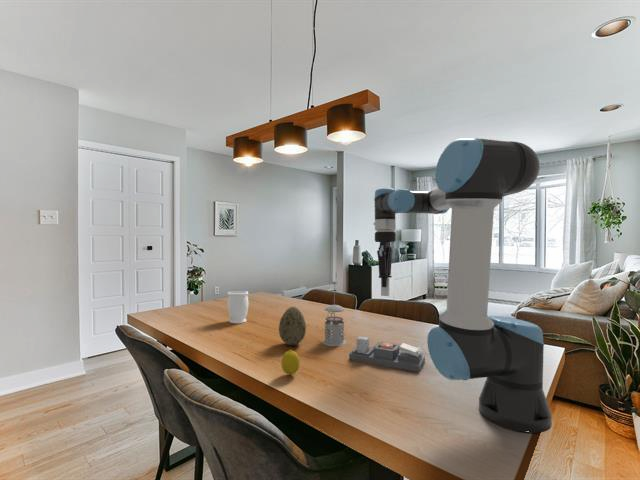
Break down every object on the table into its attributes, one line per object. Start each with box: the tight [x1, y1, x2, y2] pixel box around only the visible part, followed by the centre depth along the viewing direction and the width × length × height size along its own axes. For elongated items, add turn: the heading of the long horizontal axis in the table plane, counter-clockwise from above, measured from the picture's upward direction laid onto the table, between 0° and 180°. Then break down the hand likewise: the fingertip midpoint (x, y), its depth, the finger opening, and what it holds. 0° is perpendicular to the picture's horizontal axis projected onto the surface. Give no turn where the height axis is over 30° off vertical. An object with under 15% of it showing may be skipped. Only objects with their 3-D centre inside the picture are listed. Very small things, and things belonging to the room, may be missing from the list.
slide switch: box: [355, 335, 370, 354], centre depth 116 cm, size 3×4×5 cm
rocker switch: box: [399, 342, 422, 357], centre depth 111 cm, size 4×6×2 cm
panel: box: [348, 341, 426, 373], centre depth 114 cm, size 10×24×5 cm, turn 63°
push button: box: [380, 342, 394, 350], centre depth 114 cm, size 4×4×3 cm
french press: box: [322, 280, 347, 347], centre depth 135 cm, size 10×12×25 cm
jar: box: [226, 290, 249, 324], centre depth 166 cm, size 11×10×15 cm
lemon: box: [281, 349, 300, 377], centre depth 102 cm, size 6×6×8 cm
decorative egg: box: [278, 306, 307, 346], centre depth 131 cm, size 11×11×15 cm
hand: (385, 295), depth 121 cm, fingers closed
